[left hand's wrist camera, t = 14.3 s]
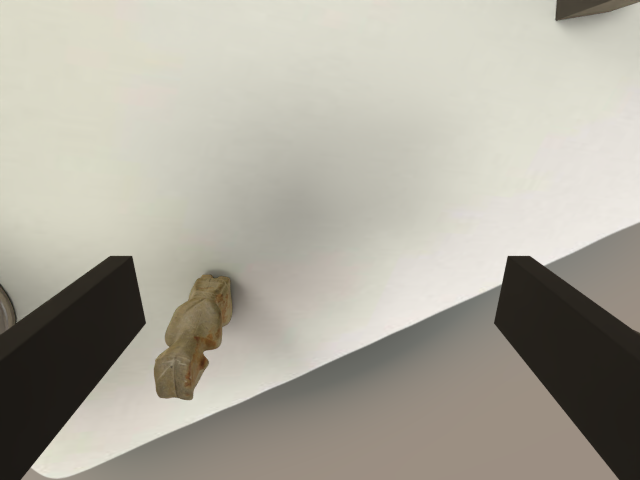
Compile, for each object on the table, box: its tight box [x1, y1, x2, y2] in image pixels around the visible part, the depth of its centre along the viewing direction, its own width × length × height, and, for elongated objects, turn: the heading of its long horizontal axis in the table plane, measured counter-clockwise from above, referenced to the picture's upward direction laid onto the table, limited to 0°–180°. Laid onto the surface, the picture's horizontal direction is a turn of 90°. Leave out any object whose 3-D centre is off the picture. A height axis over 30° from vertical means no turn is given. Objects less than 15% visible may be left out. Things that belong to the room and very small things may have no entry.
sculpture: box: [154, 275, 232, 400], centre depth 39 cm, size 6×7×15 cm
